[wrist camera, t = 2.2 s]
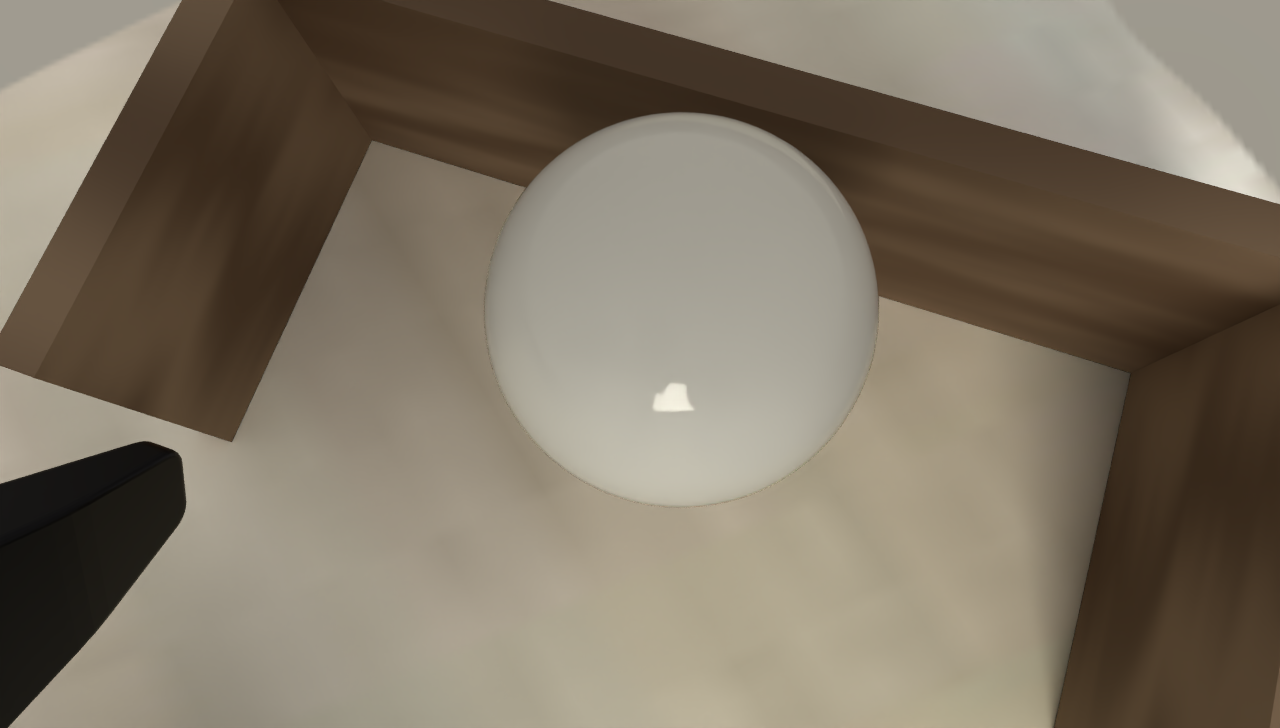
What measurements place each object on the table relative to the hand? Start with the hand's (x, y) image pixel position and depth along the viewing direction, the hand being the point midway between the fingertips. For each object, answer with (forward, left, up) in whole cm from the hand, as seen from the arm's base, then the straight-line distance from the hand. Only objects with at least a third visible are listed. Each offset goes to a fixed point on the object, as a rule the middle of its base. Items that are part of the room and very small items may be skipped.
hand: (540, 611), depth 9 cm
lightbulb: (+5, -2, -12) cm, 13 cm away
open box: (+5, -2, -12) cm, 13 cm away
